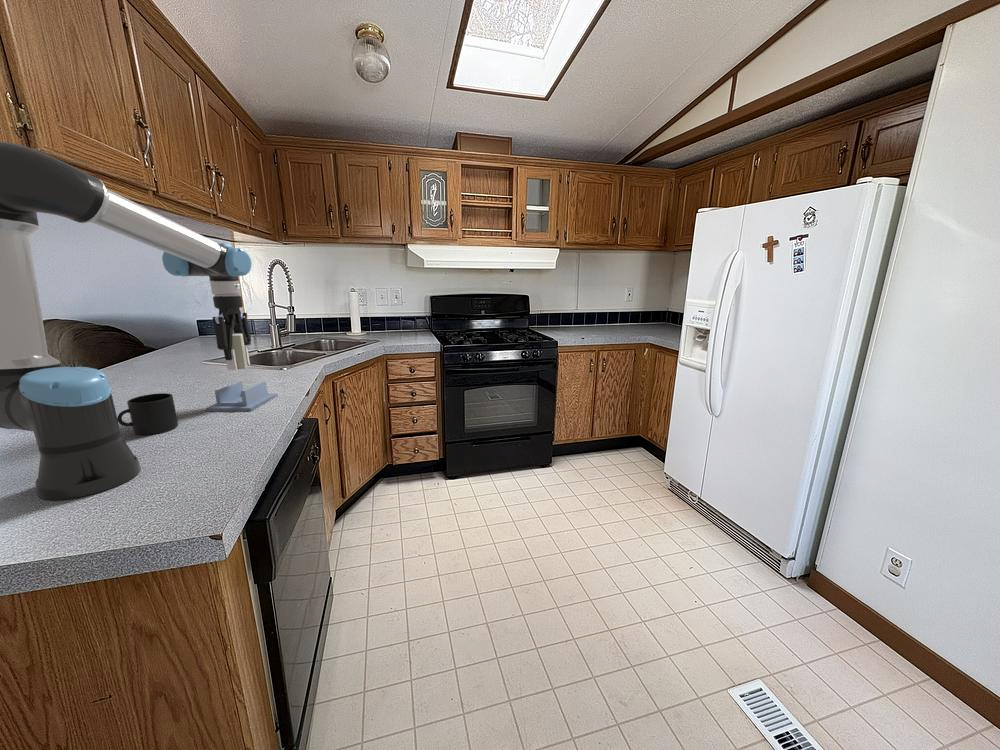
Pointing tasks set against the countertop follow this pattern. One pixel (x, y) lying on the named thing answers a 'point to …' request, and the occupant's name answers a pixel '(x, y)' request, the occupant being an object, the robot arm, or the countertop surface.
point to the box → (239, 350)
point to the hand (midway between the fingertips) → (239, 366)
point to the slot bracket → (241, 397)
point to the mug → (151, 414)
